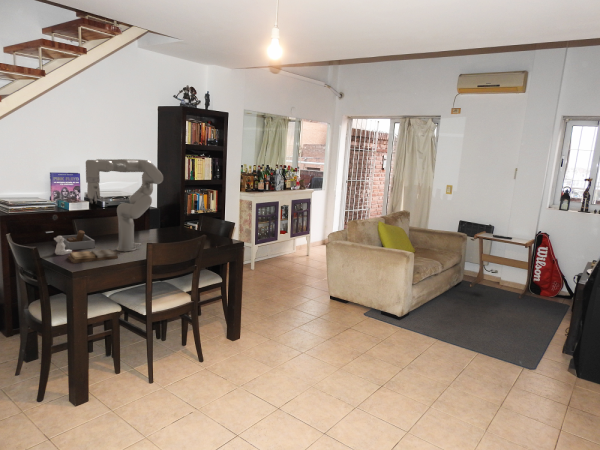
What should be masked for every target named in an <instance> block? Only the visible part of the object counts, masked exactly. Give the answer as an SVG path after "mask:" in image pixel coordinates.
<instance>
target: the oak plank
mask: <svg viewBox="0 0 600 450" xmlns="http://www.w3.org/2000/svg"><path fill="white" fill-rule="evenodd" d="M69 256H72V257H73V258H74V259H75V260H77V259H88V258H95V255H94V254H93V253H91V251H89V250H88V251H72V253H70V254H69Z"/></svg>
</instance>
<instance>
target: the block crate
mask: <svg viewBox="0 0 600 450" xmlns="http://www.w3.org/2000/svg"><path fill="white" fill-rule="evenodd" d="M61 236H62V237H63V239H64V241H63V243H64V244H65V245H66V246H65V250H68V249H69V250H72V251H75V250H76V251H77V250H86V249H87V250H88V249H94V248H96V242H95V239H93V238H91V237H89V236H88V235H86V234H84V237H83V240H82V241H81V242H69V241H67V238H72V237H74V238H77V234H71V235H69V234H68V235H61Z"/></svg>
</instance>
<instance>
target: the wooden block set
mask: <svg viewBox="0 0 600 450" xmlns="http://www.w3.org/2000/svg"><path fill="white" fill-rule="evenodd" d="M84 234H85V231H84V230H81V229H79V230H78V232H77V234H76V235H77V238H74V237H72V238H67V241H69V242H81V241H82V240H83V237H84ZM85 235H86V234H85Z"/></svg>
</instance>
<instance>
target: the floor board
mask: <svg viewBox="0 0 600 450" xmlns="http://www.w3.org/2000/svg"><path fill="white" fill-rule="evenodd" d="M90 252H91V253H93V254H94V255H95V258H88V259H77V260H75V259H74V258H73V257H72V256H70V255H67V259H68V260H69V261H70V262H71V263H73V264H78V263H79V264H81V263H87V262H96V261H98V262H99V261H106V260H113V259H114V260H115V259H118V258H119V256H118V255H117V252H116V251H113V250H112V249H111V248H110V249H99V250H91V251H90Z"/></svg>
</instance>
